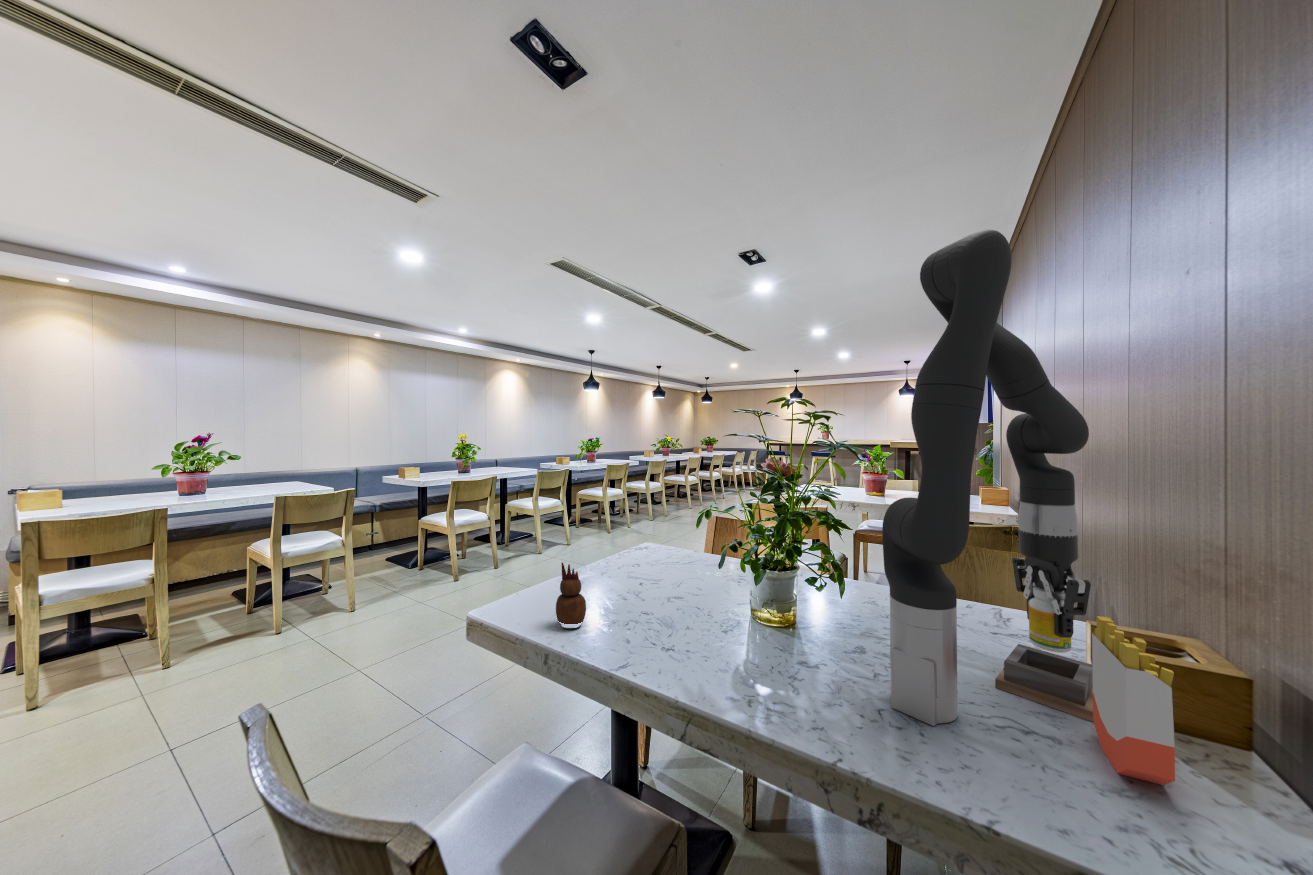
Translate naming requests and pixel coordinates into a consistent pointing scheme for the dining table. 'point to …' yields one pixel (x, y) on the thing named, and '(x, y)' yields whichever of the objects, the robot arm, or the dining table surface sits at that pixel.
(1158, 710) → the french fries container
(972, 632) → the dining table surface
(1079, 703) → the collar stand
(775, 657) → the dining table surface
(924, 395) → the robot arm
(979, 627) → the dining table surface
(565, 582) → the wooden figurine
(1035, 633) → the supplement bottle
